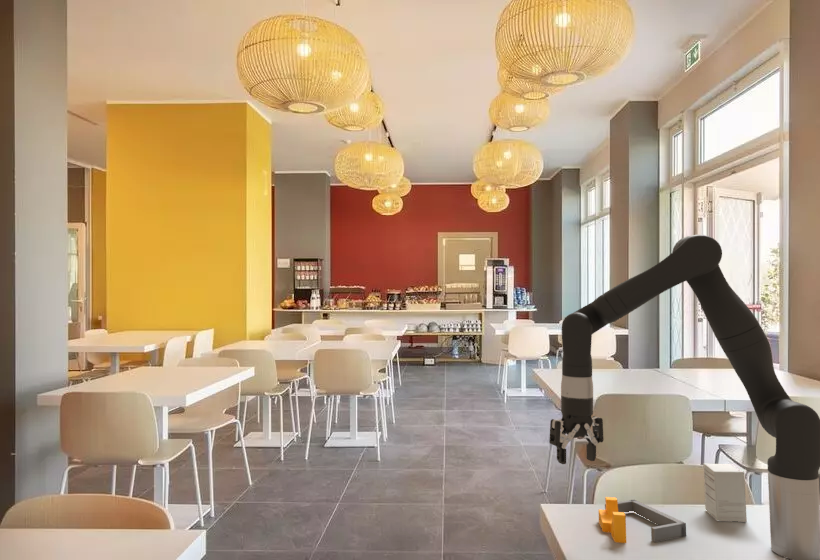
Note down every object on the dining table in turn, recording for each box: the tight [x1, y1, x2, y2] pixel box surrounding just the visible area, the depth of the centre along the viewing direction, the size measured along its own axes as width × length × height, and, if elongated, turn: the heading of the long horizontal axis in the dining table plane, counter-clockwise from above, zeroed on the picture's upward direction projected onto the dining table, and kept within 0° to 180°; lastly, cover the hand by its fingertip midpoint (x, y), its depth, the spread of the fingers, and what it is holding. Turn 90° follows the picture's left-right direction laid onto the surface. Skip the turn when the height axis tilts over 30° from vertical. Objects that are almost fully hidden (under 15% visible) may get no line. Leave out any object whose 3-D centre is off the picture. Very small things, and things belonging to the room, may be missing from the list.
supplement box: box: [703, 462, 748, 523], centre depth 140 cm, size 7×7×13 cm
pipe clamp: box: [598, 496, 627, 544], centre depth 132 cm, size 12×4×6 cm, turn 169°
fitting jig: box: [604, 499, 687, 543], centre depth 135 cm, size 10×17×3 cm, turn 20°
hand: (576, 461), depth 131 cm, fingers open, 8 cm apart
